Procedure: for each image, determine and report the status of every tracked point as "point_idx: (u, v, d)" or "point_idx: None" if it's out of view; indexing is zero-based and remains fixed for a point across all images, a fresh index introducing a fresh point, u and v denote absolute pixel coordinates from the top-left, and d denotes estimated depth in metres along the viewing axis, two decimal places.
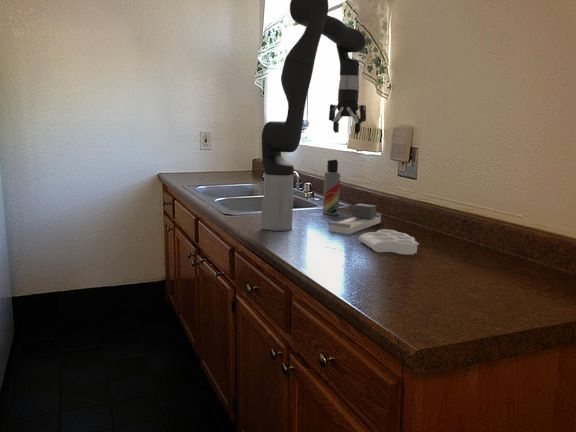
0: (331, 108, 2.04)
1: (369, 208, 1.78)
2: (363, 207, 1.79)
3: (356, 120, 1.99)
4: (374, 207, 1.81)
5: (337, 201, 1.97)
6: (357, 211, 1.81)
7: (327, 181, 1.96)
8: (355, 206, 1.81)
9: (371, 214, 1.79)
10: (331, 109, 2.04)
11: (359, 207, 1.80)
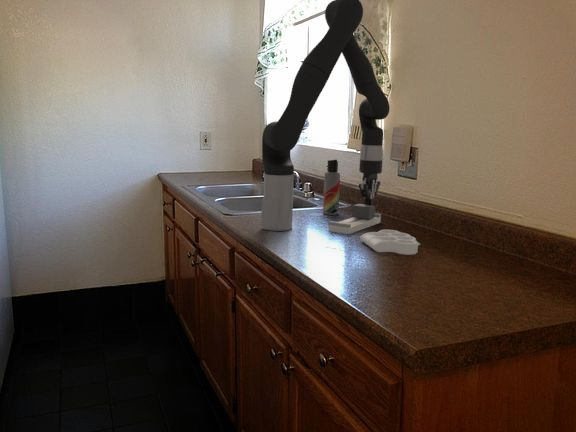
0: (366, 187, 1.78)
1: (368, 208, 1.78)
2: (362, 207, 1.79)
3: (373, 195, 1.84)
4: (373, 207, 1.80)
5: (337, 201, 1.97)
6: (356, 211, 1.80)
7: (327, 181, 1.96)
8: (354, 206, 1.80)
9: (370, 214, 1.79)
10: (367, 188, 1.79)
11: (358, 207, 1.79)
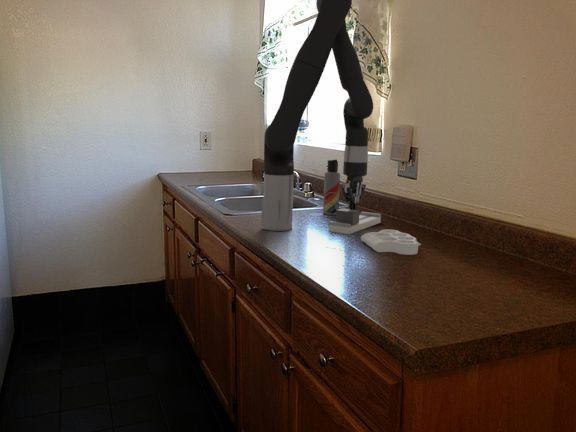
0: (350, 190, 1.68)
1: (352, 213, 1.68)
2: (345, 212, 1.69)
3: (357, 199, 1.74)
4: (357, 212, 1.70)
5: (337, 201, 1.97)
6: (339, 216, 1.70)
7: (327, 181, 1.96)
8: (337, 211, 1.70)
9: (354, 220, 1.69)
10: (351, 191, 1.69)
11: (341, 212, 1.70)
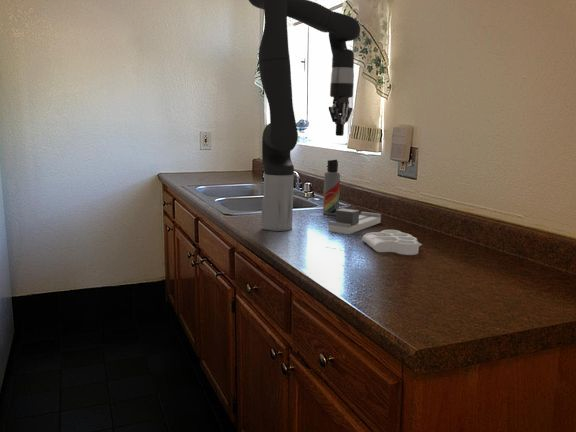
0: (336, 110, 1.75)
1: (351, 213, 1.67)
2: (345, 212, 1.69)
3: (344, 121, 1.80)
4: (357, 212, 1.70)
5: (337, 201, 1.97)
6: (339, 217, 1.70)
7: (327, 181, 1.96)
8: (337, 211, 1.70)
9: (354, 220, 1.69)
10: (337, 111, 1.75)
11: (341, 212, 1.69)
